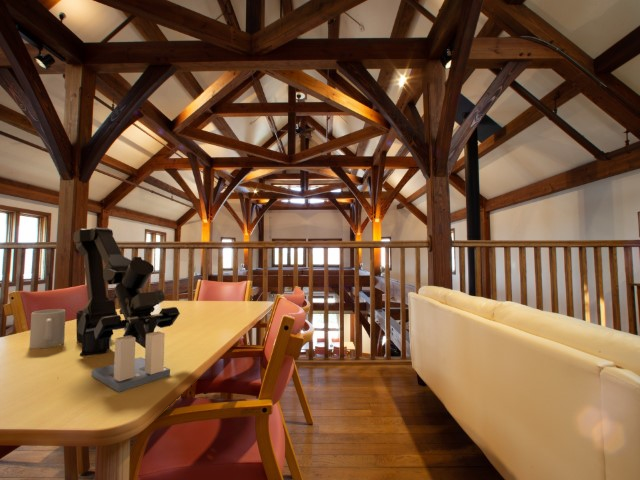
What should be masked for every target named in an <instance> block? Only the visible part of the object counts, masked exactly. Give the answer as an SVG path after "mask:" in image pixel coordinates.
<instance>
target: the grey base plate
mask: <svg viewBox="0 0 640 480" xmlns="http://www.w3.org/2000/svg"><path fill="white" fill-rule="evenodd" d="M169 376H171V369H170V368H169V367H166V366H164V371H160V372H157V373H154V374H149V373H147V372H145V357H141V356H140V357H137V358H136V357H135V365H134V377H133V378H129V379H126V380H123V381H118V380H116V379H114V363H113V364H109V365H106V366H101V367H97V368H94V369H91V377H92V378H94V379H96V380H97V381H99V382H100V383H102V384H104V385H106V386H108V387H109V388H111V389H113V390H114V391H116V392H117V393H120V392H123V391H124V392H125V391H127V390H130V389H134V388H135V387H138V386H142V385H145V384H149V383H150V382H154V381H157V380H160V379H163V378H165V377H169Z"/></svg>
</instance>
